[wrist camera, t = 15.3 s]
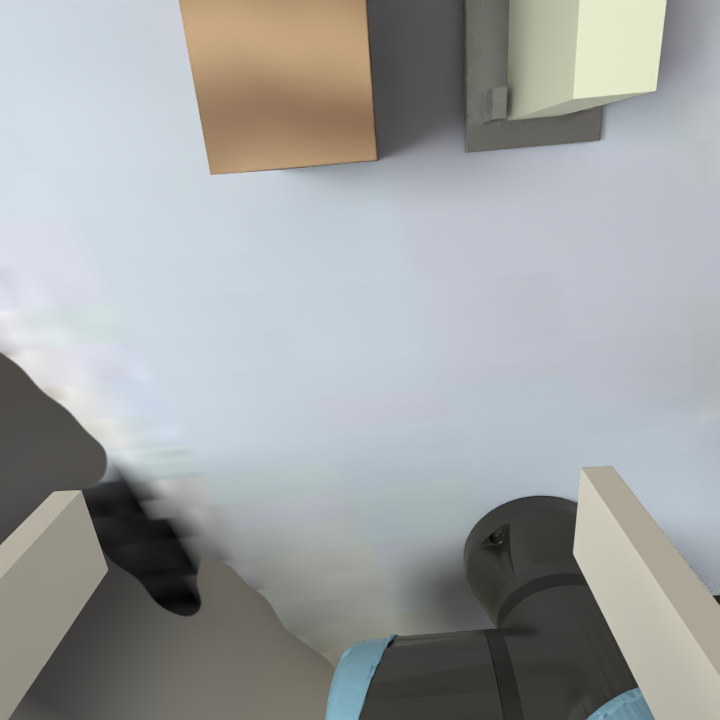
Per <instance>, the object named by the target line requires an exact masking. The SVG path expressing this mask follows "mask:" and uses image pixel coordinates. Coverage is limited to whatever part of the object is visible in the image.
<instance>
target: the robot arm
mask: <svg viewBox="0 0 720 720" xmlns="http://www.w3.org/2000/svg"><path fill="white" fill-rule="evenodd" d="M464 565H465V570H466V574H467V579H468V582H469V585H470V587H471V590H472V592H473V593H474V595H475V597H476V598H477V600H478V601H479V603H480V604H481V606H482V607H483V609H484V610H485V612H486V613H487V614H488V616H489V617H490V619H491V620H492V622H493V623H494V625H495V626H496V628H497V629H487V630H472V631H460V632H449V633H437V634H425V635H412V636H399V635H390V636H389V637H387V638H382V639H375V640H369V641H361V642H357V643H355V644H353V645H351V646H350V647H349V648H348V649H347V650H346V651H345V652H344V654H343V655H342V657H341V659H340V661H339V663H338V665H337V667H336V670H335V673H334V677H333V680H332V685H331V689H330V694H329V700H328V705H327V711H326V719H325V720H720V595H717V596H712V595H711V594H710V592H709V591H708V590H707V588H706V587H705V586H704V584H703V583H702V582H701V581H700V579H699V578H698V577H697V575H696V574H695V573H694V571H693V570H692V569H691V568H690V566H689V565H688V564H687V562H686V561H685V560H684V558H683V557H682V556H681V555H680V553H679V552H678V551H677V549H676V548H675V547H674V545H673V544H672V543H671V541H670V540H669V539H668V538H667V536H666V535H665V534H664V532H663V531H662V530H661V528H660V527H659V526H658V525H657V523H656V522H655V521H654V519H653V518H652V517H651V515H650V514H649V513H648V512H647V510H646V509H645V508H644V506H643V505H642V504H641V502H640V501H639V500H638V499H637V497H636V496H635V495H634V493H633V492H632V491H631V489H630V488H629V487H628V486H627V484H626V483H625V482H624V480H623V479H622V478H621V476H620V475H619V474H618V473H617V471H616V470H615V469H614V467H613V466H604V467H582V468H581V476H580V486H579V497H578V505H577V504H575V503H572V502H570V501H567V500H563V499H559V498H554V497H529V498H523V499H518V500H515V501H512V502H509V503H506V504H504V505H502V506H500V507H498V508H496V509H494V510H493V511H491V512H490V513H488V514H487V515H486V516H484V517H483V518H482V519H481V520H480V521H479V522H478V523H477V524H476V525H475V527H474V528H473V529H472V531H471V533H470V534H469V536H468V539H467V541H466V544H465V548H464ZM107 571H108V568H107V565H106V562H105V559H104V556H103V553H102V550H101V547H100V544H99V542H98V539H97V536H96V533H95V530H94V527H93V524H92V521H91V518H90V515H89V512H88V509H87V506H86V503H85V500H84V497H83V494H82V491H81V490H78V491H56V492H53V493H52V494H51V495H50V496H49V497H48V498H47V499H46V500H45V501H44V502H43V503H42V504H41V505H40V506H39V507H38V508H37V509H36V510H35V511H34V512H33V513H32V514H31V515H30V516H29V517H28V518H27V519H26V520H25V521H24V522H23V523H22V524H21V525H20V526H19V527H18V528H17V529H16V530H15V531H14V532H13V533H12V534H11V535H10V536H9V537H8V538H7V539H6V540H5V541H4V542H3V543H2V544H1V545H0V720H8V719H9V717H10V716H11V714H12V713H13V711H14V710H15V708H16V707H17V705H18V704H19V702H20V701H21V699H22V698H23V696H24V695H25V693H26V692H27V690H28V689H29V687H30V686H31V684H32V683H33V681H34V680H35V678H36V677H37V675H38V674H39V672H40V671H41V669H42V668H43V666H44V665H45V663H46V662H47V660H48V659H49V657H50V656H51V655H52V653H53V652H54V650H55V649H56V647H57V645H58V644H59V643H60V641H61V639H62V638H63V636H64V635H65V633H66V632H67V631H68V629H69V628H70V626H71V624H72V623H73V622H74V620H75V619H76V617H77V616H78V614H79V613H80V611H81V610H82V608H83V607H84V605H85V604H86V602H87V601H88V599H89V598H90V596H91V595H92V593H93V592H94V590H95V589H96V587H97V586H98V584H99V583H100V581H101V580H102V578H103V577H104V575H105V574H106V572H107Z"/></svg>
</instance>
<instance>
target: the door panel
mask: <svg viewBox="0 0 720 720" xmlns="http://www.w3.org/2000/svg"><path fill="white" fill-rule="evenodd" d="M666 1H667V0H509V41H508V90H507V121H510V120H521V119H531V118H542V117H552V116H561V115H565V114H569V113H573V112H577V111H581V110H585V109H588V108H592V107H596V106H600V105H604V104H608V103H612V102H615V101H619V100H623V99H627V98H631V97H635V96H639V95H643V94H646V93H650V92H654V91H656V87H657V78H658V70H659V61H660V53H661V44H662V36H663V27H664V19H665V10H666Z"/></svg>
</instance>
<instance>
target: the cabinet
mask: <svg viewBox="0 0 720 720" xmlns="http://www.w3.org/2000/svg"><path fill="white" fill-rule="evenodd" d="M179 4H180V10H181V15H182V21H183V26H184V31H185V37H186V42H187V48H188V53H189V59H190V64H191V70H192V75H193V81H194V86H195V92H196V97H197V102H198V108H199V113H200V119H201V124H202V130H203V135H204V141H205V146H206V152H207V157H208V163H209V168H210V173H211V175H214V174H228V173H242V172H255V171H269V170H282V169H293V168H304V167H315V166H326V165H337V164H347V163H358V162H369V161H378V157H377V142H376V127H375V112H374V97H373V82H372V68H371V53H370V38H369V23H368V8H367V0H179Z"/></svg>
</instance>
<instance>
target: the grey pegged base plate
mask: <svg viewBox="0 0 720 720" xmlns="http://www.w3.org/2000/svg"><path fill="white" fill-rule="evenodd" d="M508 41H509V0H464V46H465V153H467V152H477V151H488V150H499V149H510V148H521V147H532V146H543V145H553V144H564V143H575V142H586V141H596V140H599V136H600V124H601V112H602V105H600V106H596V107H592V108H588V109H585V110H581V111H577V112H573V113H569V114H565V115H561V116H552V117H542V118H531V119H521V120H510V121H507V90H508Z"/></svg>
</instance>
